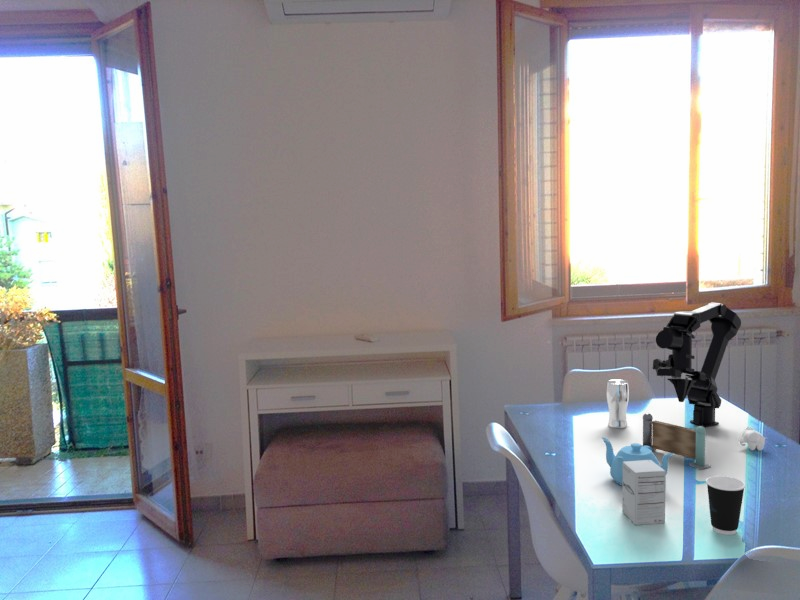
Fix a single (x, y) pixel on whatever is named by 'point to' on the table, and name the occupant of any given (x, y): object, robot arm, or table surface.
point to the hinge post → (647, 430)
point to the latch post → (700, 449)
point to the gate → (674, 439)
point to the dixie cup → (725, 503)
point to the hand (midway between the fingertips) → (681, 401)
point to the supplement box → (643, 492)
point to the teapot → (630, 458)
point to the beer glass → (617, 403)
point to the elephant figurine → (752, 439)
